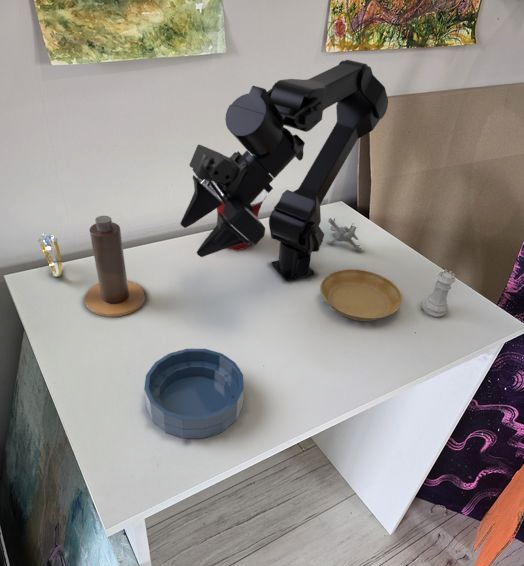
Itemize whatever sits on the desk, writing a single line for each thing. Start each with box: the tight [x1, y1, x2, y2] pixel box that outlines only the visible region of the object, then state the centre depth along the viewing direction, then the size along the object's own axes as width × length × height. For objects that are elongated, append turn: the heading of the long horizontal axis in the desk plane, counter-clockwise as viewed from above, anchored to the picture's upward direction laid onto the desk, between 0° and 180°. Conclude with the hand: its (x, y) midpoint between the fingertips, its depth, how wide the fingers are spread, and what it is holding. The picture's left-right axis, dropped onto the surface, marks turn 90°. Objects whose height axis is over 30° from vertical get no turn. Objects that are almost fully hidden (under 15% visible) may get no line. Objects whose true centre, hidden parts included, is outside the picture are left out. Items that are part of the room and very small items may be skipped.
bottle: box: [89, 215, 129, 304], centre depth 80 cm, size 5×5×15 cm
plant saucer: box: [319, 268, 403, 322], centre depth 89 cm, size 15×15×3 cm
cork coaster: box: [84, 280, 146, 318], centre depth 85 cm, size 10×10×1 cm
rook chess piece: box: [421, 269, 456, 318], centre depth 87 cm, size 4×4×8 cm
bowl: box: [143, 348, 245, 439], centre depth 68 cm, size 13×13×4 cm
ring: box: [36, 232, 63, 278], centre depth 87 cm, size 7×3×8 cm, turn 32°
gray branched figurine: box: [327, 217, 362, 253], centre depth 104 cm, size 10×6×9 cm
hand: (190, 240), depth 77 cm, fingers open, 9 cm apart
